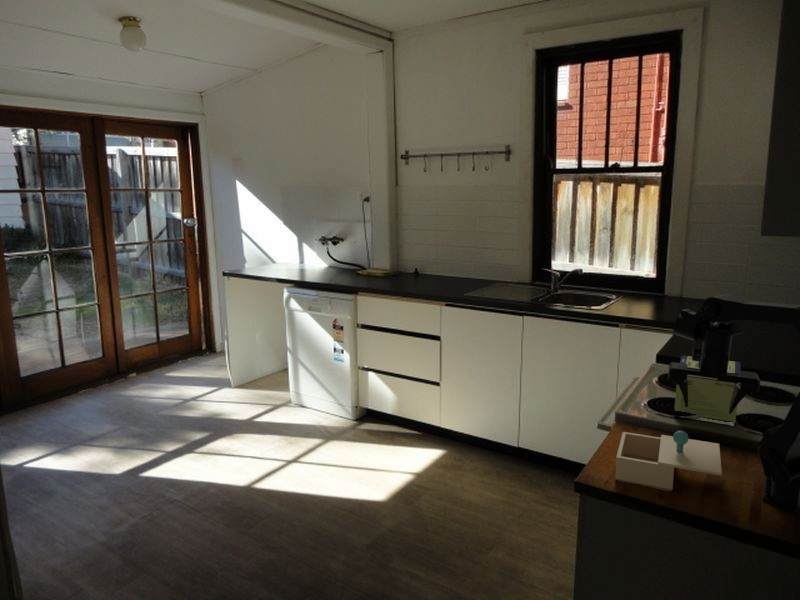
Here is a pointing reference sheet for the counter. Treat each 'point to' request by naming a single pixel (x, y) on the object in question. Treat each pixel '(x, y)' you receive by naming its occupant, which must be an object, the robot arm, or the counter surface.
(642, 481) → the carton
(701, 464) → the carton lid
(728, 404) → the protein box
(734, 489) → the counter surface
